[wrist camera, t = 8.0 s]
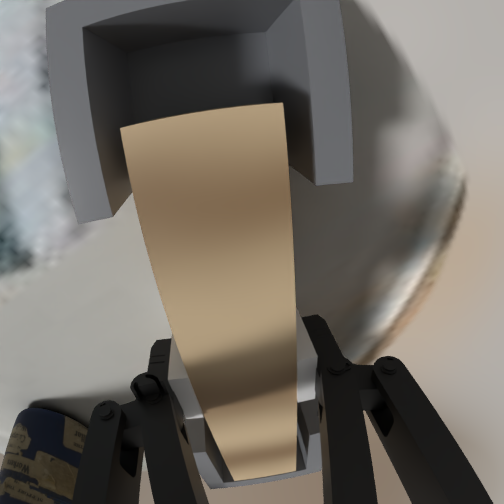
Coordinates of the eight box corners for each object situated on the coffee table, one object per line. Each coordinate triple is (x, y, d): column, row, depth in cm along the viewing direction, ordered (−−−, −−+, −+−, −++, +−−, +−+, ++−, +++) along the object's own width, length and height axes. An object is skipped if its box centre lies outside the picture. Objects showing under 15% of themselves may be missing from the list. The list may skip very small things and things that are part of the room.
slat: (157, 118, 12) (120, 127, 7) (250, 104, 12) (282, 102, 7) (226, 411, 21) (234, 481, 16) (278, 403, 21) (295, 470, 16)
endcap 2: (303, 412, 24) (321, 470, 19) (206, 428, 23) (210, 488, 18) (304, 360, 21) (329, 430, 15) (185, 379, 20) (185, 453, 15)
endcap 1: (104, 39, 10) (46, 8, 5) (285, 13, 11) (332, -35, 6) (124, 177, 14) (78, 224, 8) (299, 151, 14) (353, 182, 9)
